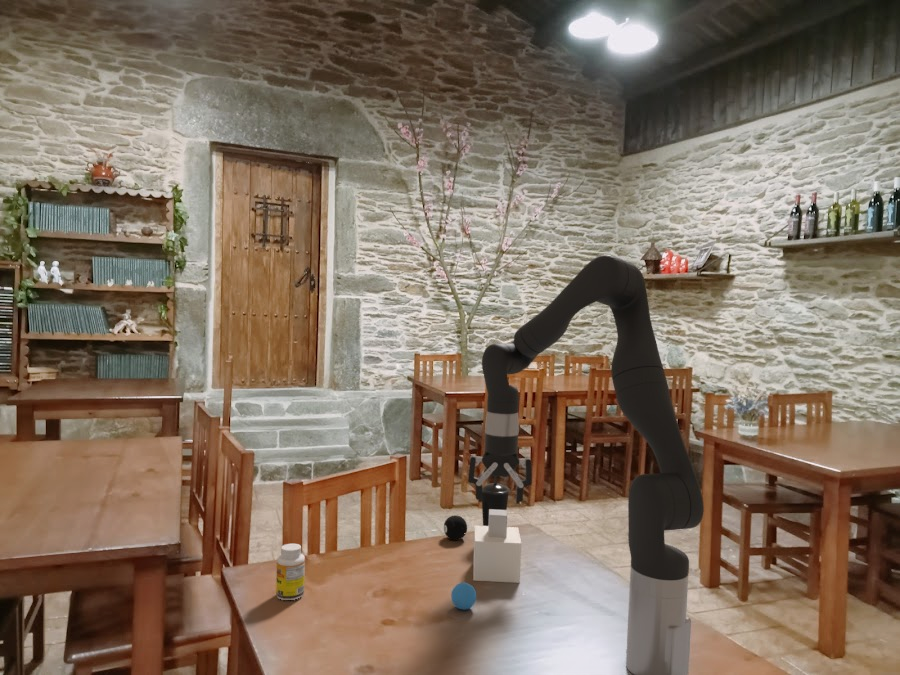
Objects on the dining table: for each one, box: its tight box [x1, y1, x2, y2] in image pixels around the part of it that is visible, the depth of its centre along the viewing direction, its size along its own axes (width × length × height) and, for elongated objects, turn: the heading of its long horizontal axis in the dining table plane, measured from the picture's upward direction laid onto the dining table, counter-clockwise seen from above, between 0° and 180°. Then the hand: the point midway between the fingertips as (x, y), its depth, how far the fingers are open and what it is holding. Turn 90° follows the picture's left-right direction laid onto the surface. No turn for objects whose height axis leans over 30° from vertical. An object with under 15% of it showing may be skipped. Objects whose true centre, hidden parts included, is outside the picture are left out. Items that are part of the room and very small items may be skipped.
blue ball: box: [451, 582, 477, 611], centre depth 126 cm, size 5×5×5 cm
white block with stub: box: [472, 509, 522, 584], centre depth 144 cm, size 10×10×14 cm
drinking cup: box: [481, 476, 511, 526], centre depth 164 cm, size 8×8×20 cm
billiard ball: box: [443, 515, 468, 541], centre depth 165 cm, size 6×6×6 cm
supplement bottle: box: [275, 543, 306, 601], centre depth 129 cm, size 6×6×10 cm
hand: (498, 502), depth 144 cm, fingers open, 8 cm apart
